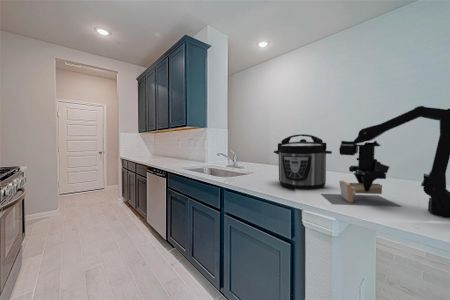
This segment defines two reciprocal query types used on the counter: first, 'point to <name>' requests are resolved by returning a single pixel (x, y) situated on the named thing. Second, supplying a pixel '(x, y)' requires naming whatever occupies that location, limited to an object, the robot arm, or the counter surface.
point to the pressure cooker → (302, 163)
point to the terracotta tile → (346, 191)
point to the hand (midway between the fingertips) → (365, 190)
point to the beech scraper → (360, 188)
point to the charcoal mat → (360, 200)
